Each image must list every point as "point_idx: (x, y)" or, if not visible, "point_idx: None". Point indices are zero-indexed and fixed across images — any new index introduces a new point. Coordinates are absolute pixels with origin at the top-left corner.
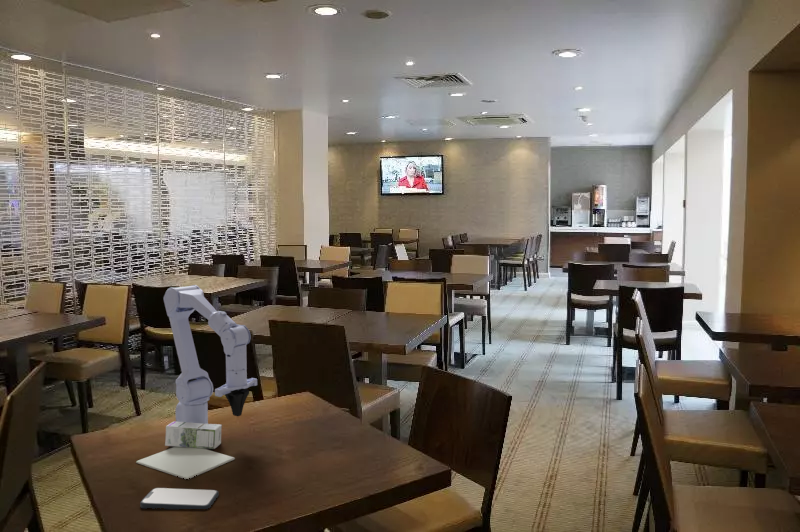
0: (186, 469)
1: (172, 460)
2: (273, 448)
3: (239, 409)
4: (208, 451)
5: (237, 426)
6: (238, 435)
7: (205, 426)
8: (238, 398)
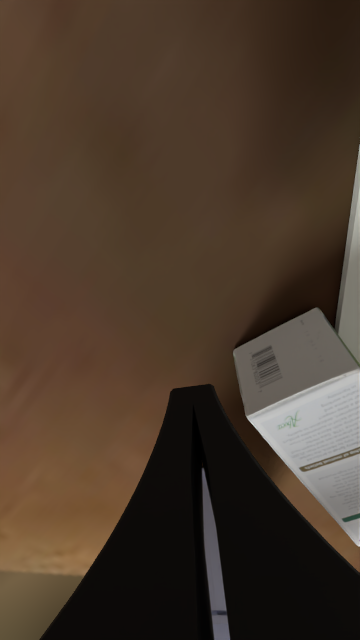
0: None
1: None
2: (72, 53)
3: (214, 425)
4: (357, 299)
5: (58, 449)
6: (113, 376)
7: (342, 437)
8: (322, 576)
